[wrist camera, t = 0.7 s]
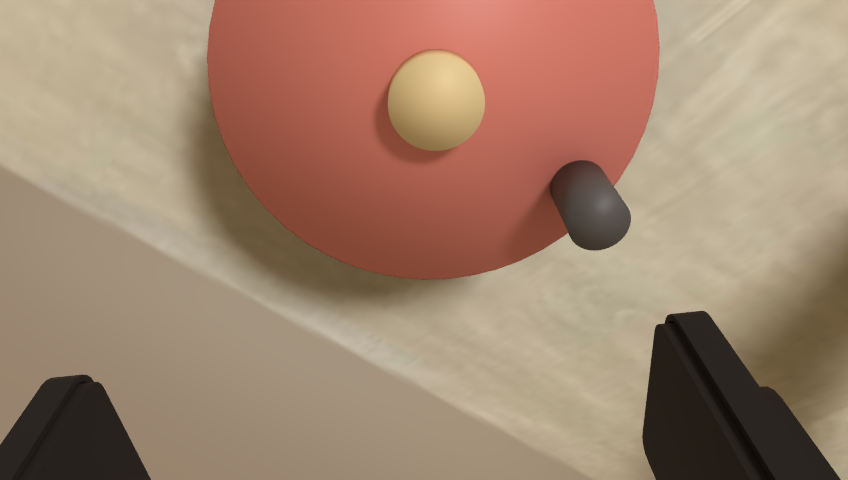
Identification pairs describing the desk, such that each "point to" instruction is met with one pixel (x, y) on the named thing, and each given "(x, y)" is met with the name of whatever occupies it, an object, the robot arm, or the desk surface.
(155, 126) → the desk surface
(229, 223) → the desk surface
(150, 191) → the desk surface
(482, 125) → the handwheel
